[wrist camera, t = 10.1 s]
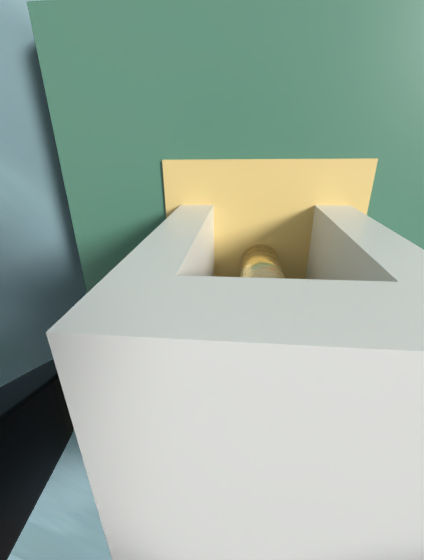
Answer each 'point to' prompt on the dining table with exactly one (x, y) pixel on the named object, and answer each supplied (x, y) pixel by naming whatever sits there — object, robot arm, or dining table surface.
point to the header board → (233, 120)
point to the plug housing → (253, 397)
